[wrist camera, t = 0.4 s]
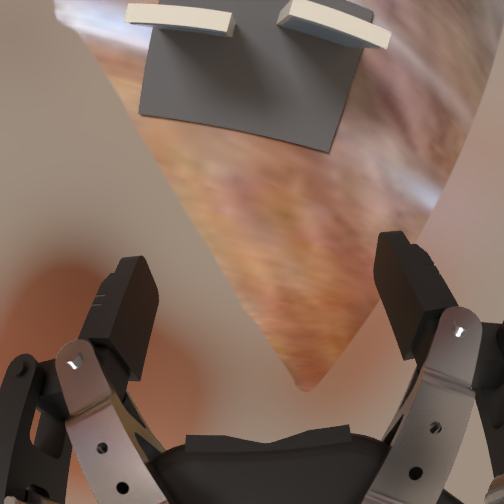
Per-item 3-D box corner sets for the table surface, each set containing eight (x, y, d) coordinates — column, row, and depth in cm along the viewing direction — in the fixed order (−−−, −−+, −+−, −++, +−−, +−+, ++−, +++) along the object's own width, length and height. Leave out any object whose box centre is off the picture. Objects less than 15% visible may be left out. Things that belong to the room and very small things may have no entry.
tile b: (280, 11, 25) (294, -4, 17) (352, 34, 26) (391, 32, 18) (275, 25, 26) (288, 16, 18) (348, 48, 27) (386, 50, 19)
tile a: (160, 14, 25) (128, 3, 17) (235, 23, 26) (231, 12, 18) (157, 28, 26) (123, 23, 18) (232, 38, 27) (226, 33, 19)
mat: (170, -35, 21) (169, -36, 21) (372, 12, 25) (373, 11, 24) (139, 113, 32) (138, 114, 31) (327, 151, 35) (328, 152, 35)
